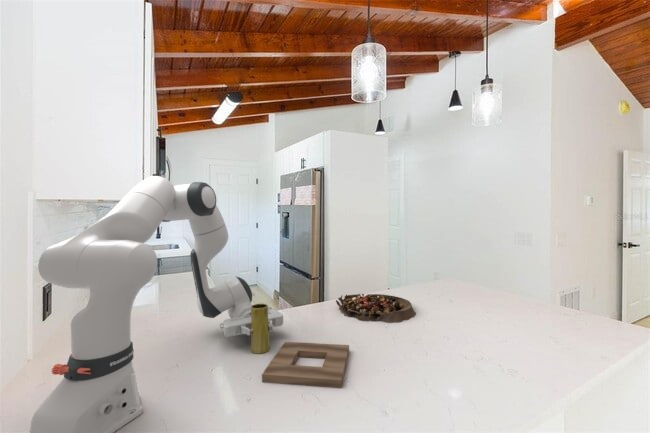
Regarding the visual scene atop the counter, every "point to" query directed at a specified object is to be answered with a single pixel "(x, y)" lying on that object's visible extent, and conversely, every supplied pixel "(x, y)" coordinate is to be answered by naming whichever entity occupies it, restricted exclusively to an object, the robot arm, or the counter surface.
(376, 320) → the food dish
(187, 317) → the counter surface
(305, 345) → the socket
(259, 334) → the vase
